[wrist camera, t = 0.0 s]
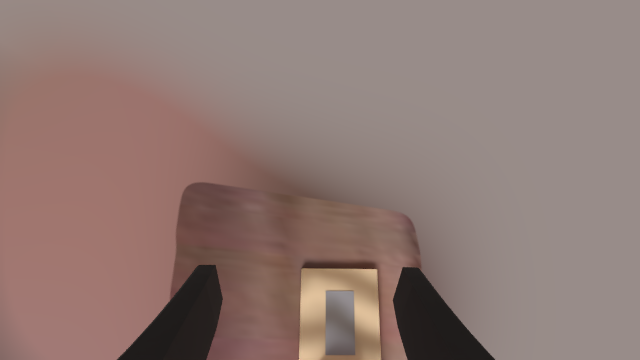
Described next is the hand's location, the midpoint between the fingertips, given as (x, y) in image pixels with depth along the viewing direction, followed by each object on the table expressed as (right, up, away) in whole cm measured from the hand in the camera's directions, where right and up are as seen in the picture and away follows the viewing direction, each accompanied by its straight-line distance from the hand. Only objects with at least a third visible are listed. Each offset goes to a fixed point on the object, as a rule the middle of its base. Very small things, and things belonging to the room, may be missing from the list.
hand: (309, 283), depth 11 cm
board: (+3, -18, +29) cm, 34 cm away
